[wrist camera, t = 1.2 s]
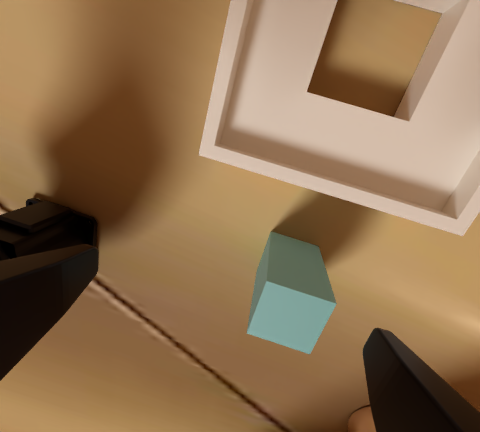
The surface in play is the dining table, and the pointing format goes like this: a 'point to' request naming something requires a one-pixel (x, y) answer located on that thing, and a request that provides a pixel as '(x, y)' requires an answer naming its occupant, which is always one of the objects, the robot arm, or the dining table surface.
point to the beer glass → (361, 421)
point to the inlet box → (351, 114)
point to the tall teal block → (291, 294)
